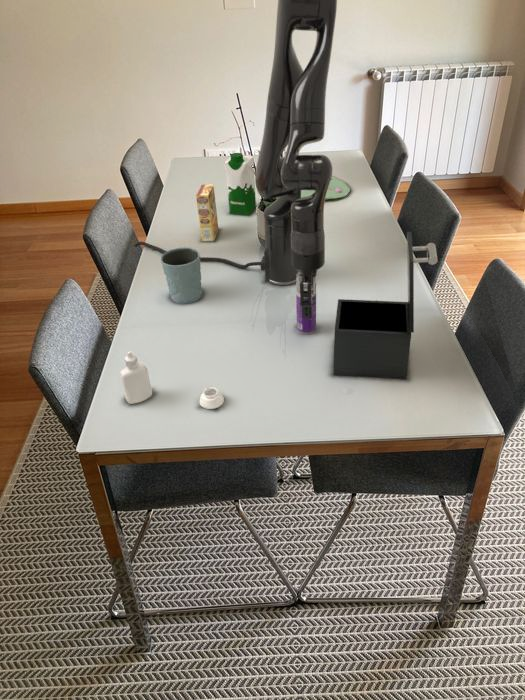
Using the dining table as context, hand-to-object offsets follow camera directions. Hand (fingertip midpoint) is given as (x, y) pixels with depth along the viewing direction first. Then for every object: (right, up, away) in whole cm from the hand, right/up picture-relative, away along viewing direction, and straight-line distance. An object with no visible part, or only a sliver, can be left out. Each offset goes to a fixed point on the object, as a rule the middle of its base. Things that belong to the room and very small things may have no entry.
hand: (308, 307), depth 143 cm
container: (0, -5, +4) cm, 6 cm away
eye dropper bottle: (-37, -20, -14) cm, 45 cm away
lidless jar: (-22, -21, -16) cm, 34 cm away
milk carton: (-18, +38, +64) cm, 76 cm away
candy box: (-28, +26, +49) cm, 62 cm away
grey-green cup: (-32, +4, +20) cm, 38 cm away
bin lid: (+19, +4, -20) cm, 28 cm away
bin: (+13, -12, -7) cm, 20 cm away
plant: (+10, +48, +76) cm, 91 cm away
